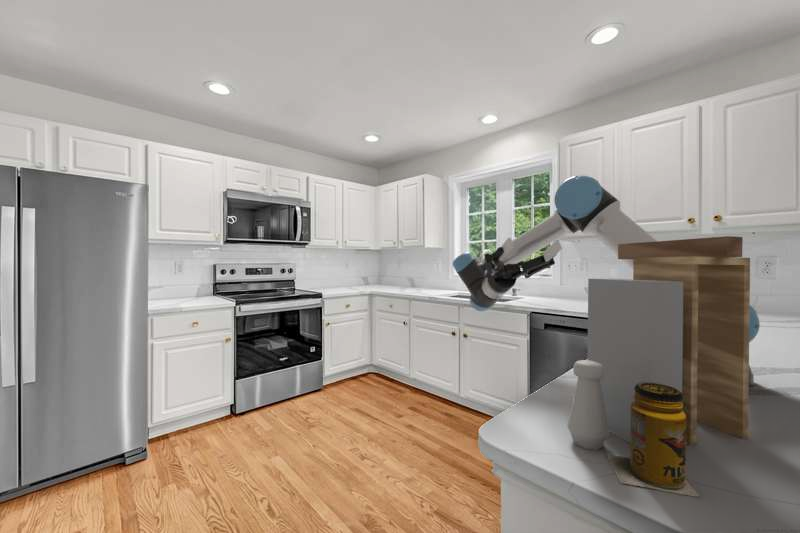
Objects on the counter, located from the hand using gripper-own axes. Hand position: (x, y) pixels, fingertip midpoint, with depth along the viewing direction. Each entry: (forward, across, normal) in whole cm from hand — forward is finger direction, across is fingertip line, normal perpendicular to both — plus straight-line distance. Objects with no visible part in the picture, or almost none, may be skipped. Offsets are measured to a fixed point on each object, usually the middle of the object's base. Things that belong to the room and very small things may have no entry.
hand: (535, 243), depth 90 cm
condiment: (+18, +9, -50) cm, 54 cm away
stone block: (+8, +1, -44) cm, 45 cm away
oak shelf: (+9, -11, -44) cm, 46 cm away
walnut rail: (+21, -11, -16) cm, 29 cm away
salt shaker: (+10, +11, -45) cm, 48 cm away
